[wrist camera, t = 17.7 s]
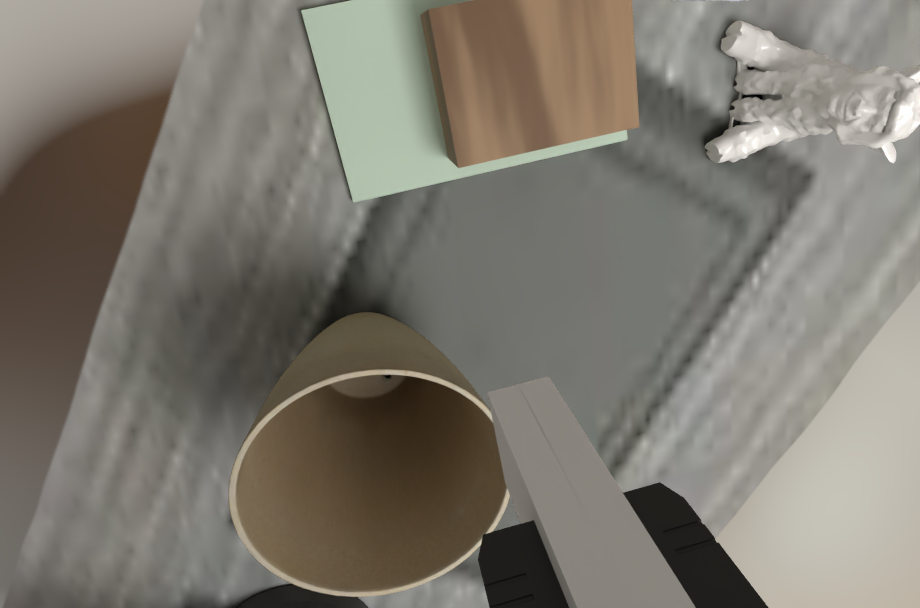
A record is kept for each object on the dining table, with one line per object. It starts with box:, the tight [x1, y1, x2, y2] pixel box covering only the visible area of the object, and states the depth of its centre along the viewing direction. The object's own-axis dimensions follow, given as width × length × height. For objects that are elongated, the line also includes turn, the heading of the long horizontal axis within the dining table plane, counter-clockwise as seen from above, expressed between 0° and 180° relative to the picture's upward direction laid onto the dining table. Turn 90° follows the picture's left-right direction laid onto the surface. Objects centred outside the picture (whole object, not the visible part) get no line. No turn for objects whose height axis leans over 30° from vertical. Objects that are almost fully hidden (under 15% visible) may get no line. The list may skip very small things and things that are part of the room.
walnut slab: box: [420, 0, 639, 168], centre depth 36 cm, size 4×9×12 cm
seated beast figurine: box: [704, 21, 920, 163], centre depth 37 cm, size 10×9×12 cm
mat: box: [301, 0, 627, 203], centre depth 38 cm, size 20×12×1 cm, turn 101°
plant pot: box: [229, 312, 510, 597], centre depth 38 cm, size 15×15×16 cm
